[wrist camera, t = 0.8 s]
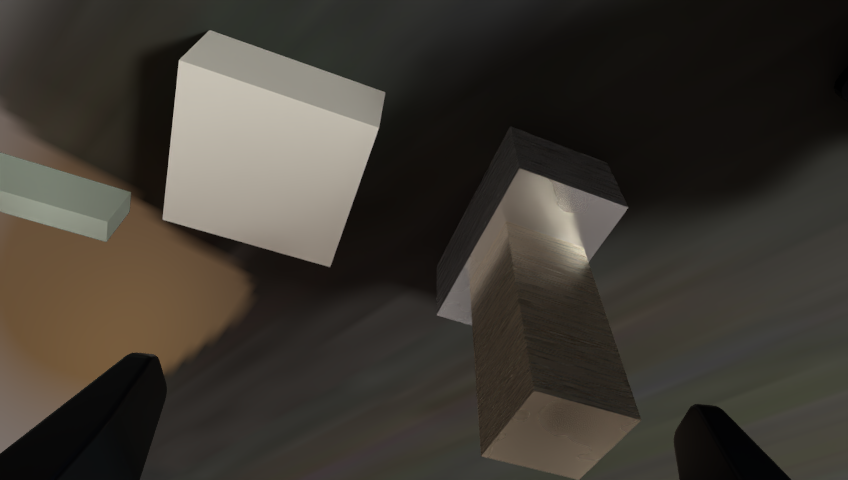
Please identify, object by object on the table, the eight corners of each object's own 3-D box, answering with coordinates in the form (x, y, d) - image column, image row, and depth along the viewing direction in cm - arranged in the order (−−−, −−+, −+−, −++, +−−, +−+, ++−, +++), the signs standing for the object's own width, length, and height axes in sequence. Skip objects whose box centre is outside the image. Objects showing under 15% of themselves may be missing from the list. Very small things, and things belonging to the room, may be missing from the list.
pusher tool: (607, 162, 21) (709, 377, 13) (520, 291, 25) (559, 516, 17) (509, 125, 20) (556, 331, 12) (436, 264, 24) (435, 488, 16)
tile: (386, 89, 20) (379, 127, 17) (341, 219, 23) (330, 267, 21) (212, 27, 19) (178, 59, 16) (192, 175, 22) (162, 219, 20)
